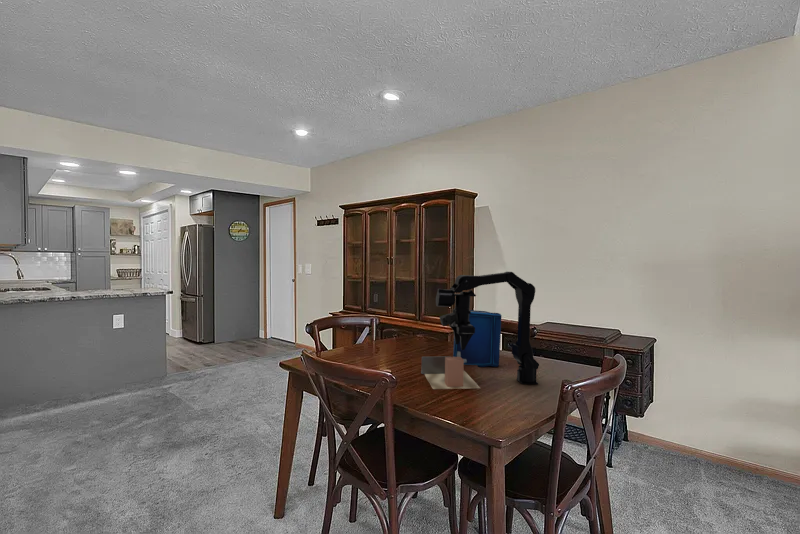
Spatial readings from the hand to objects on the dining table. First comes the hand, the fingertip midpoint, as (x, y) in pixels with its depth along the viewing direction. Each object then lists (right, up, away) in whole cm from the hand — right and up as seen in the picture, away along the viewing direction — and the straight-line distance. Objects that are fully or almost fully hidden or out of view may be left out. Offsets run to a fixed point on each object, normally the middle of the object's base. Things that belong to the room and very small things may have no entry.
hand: (459, 346), depth 166 cm
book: (+12, -14, +29) cm, 34 cm away
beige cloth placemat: (-4, -14, +2) cm, 15 cm away
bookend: (-8, -13, +10) cm, 19 cm away
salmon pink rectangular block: (-3, -13, -5) cm, 15 cm away
